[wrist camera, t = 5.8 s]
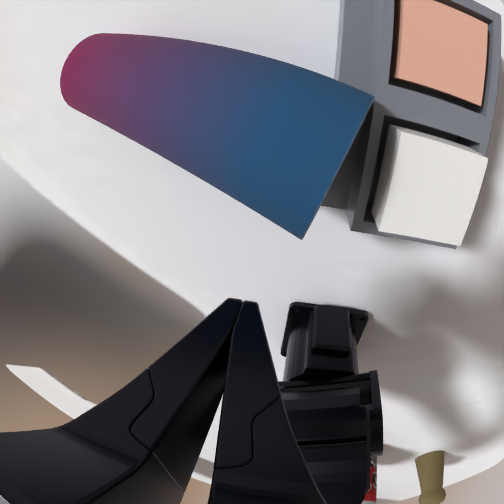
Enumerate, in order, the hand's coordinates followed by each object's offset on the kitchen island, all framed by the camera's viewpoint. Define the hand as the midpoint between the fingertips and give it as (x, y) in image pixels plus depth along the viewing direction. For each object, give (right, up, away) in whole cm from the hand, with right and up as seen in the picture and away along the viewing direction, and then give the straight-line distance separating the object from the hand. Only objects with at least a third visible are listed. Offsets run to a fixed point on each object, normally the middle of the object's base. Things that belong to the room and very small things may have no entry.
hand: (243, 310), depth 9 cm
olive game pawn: (+34, -37, +31) cm, 59 cm away
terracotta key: (+9, +12, +2) cm, 15 cm away
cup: (-9, +12, +5) cm, 16 cm away
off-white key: (+8, +5, +4) cm, 11 cm away
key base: (+9, +10, +6) cm, 15 cm away
